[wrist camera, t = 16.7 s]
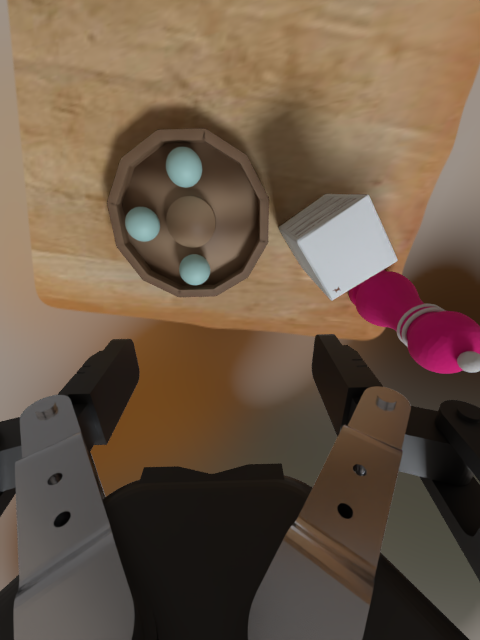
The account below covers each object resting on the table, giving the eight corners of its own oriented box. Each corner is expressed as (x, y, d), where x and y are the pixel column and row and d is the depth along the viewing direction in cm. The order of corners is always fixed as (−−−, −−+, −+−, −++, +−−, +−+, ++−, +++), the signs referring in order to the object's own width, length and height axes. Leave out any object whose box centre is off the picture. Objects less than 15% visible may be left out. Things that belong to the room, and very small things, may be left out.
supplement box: (350, 240, 37) (401, 263, 26) (302, 270, 39) (330, 304, 28) (326, 191, 35) (371, 191, 23) (276, 225, 36) (295, 241, 25)
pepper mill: (341, 311, 42) (422, 403, 24) (349, 264, 39) (448, 329, 21) (388, 310, 42) (505, 401, 24) (399, 263, 39) (543, 327, 21)
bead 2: (169, 151, 32) (158, 142, 28) (203, 150, 32) (197, 141, 28) (173, 189, 33) (163, 186, 29) (206, 188, 33) (200, 184, 29)
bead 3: (183, 280, 38) (178, 289, 35) (180, 251, 36) (174, 258, 33) (212, 279, 38) (209, 289, 35) (210, 251, 36) (207, 257, 33)
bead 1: (128, 206, 34) (116, 207, 30) (161, 205, 34) (152, 207, 30) (134, 239, 36) (123, 244, 32) (165, 238, 36) (157, 243, 32)
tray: (104, 136, 32) (91, 131, 29) (267, 132, 32) (270, 126, 29) (134, 291, 40) (127, 298, 37) (264, 287, 40) (266, 294, 37)
